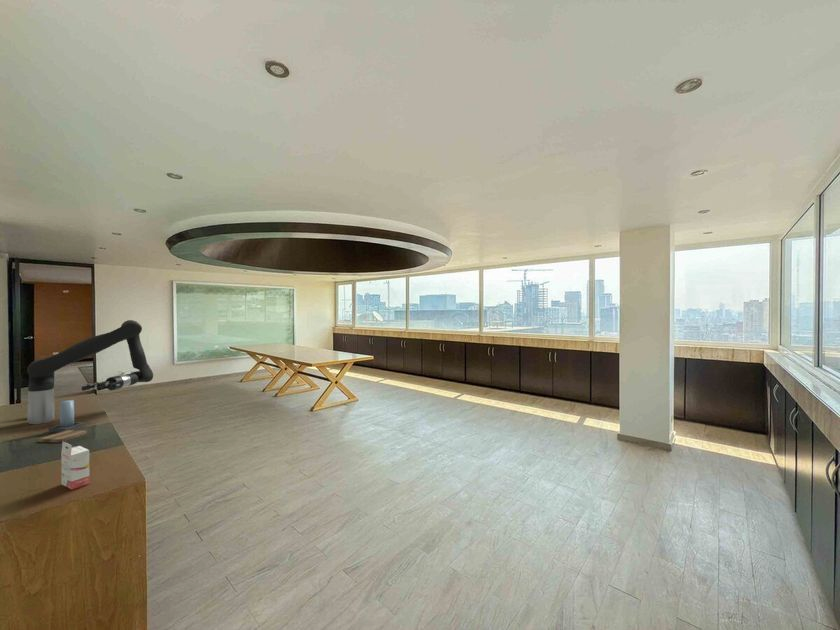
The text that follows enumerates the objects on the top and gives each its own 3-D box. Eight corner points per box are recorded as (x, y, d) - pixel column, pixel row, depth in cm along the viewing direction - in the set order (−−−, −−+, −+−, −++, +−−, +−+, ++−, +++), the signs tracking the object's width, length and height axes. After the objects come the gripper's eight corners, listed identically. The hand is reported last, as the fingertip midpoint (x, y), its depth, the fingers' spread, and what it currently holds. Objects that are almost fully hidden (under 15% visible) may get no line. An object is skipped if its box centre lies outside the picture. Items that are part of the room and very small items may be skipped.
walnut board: (39, 442, 155) (38, 438, 155) (65, 433, 166) (65, 430, 166) (61, 442, 154) (61, 439, 154) (86, 433, 165) (86, 430, 165)
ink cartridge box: (90, 483, 117) (90, 441, 117) (71, 490, 113) (70, 446, 113) (80, 478, 121) (79, 436, 121) (60, 484, 117) (60, 441, 117)
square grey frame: (48, 432, 167) (48, 428, 167) (68, 426, 176) (68, 422, 176) (65, 432, 167) (65, 428, 167) (84, 426, 176) (84, 422, 176)
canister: (56, 430, 169) (56, 402, 169) (67, 427, 174) (67, 400, 174) (66, 431, 169) (66, 402, 169) (77, 427, 174) (76, 400, 174)
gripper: (106, 375, 199) (77, 381, 183) (129, 375, 198) (102, 381, 182) (107, 388, 199) (77, 395, 183) (130, 388, 198) (102, 395, 182)
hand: (89, 388), depth 183 cm, fingers open, 8 cm apart
